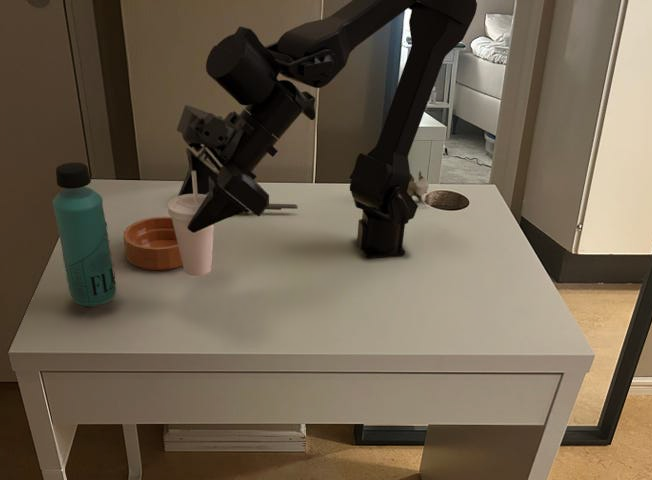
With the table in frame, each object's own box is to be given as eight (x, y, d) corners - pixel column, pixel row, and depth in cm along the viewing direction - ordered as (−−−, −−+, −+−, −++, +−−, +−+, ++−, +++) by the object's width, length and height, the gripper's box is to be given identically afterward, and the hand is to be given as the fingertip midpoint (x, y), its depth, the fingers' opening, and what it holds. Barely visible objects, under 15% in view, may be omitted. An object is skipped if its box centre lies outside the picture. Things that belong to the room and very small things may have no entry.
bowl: (195, 237, 116) (193, 214, 113) (201, 269, 107) (199, 246, 104) (126, 241, 114) (123, 219, 111) (126, 275, 105) (123, 251, 103)
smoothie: (213, 283, 93) (206, 182, 84) (167, 278, 93) (156, 178, 85) (226, 260, 98) (221, 163, 89) (182, 255, 99) (173, 159, 90)
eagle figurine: (411, 184, 132) (368, 179, 130) (429, 160, 126) (384, 155, 123) (418, 218, 130) (374, 214, 127) (436, 196, 123) (391, 191, 121)
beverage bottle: (95, 321, 95) (71, 180, 83) (61, 306, 98) (32, 168, 86) (128, 300, 99) (110, 163, 87) (94, 287, 102) (72, 153, 90)
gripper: (193, 62, 89) (118, 158, 92) (241, 104, 75) (151, 215, 78) (252, 117, 96) (181, 204, 99) (306, 165, 82) (221, 264, 86)
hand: (183, 219), depth 91 cm, fingers closed on smoothie, 6 cm apart
